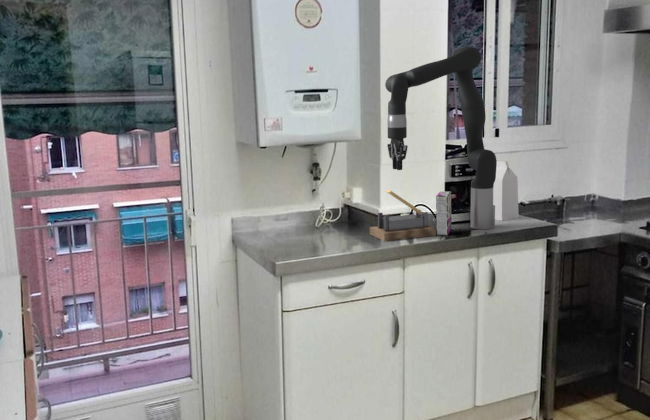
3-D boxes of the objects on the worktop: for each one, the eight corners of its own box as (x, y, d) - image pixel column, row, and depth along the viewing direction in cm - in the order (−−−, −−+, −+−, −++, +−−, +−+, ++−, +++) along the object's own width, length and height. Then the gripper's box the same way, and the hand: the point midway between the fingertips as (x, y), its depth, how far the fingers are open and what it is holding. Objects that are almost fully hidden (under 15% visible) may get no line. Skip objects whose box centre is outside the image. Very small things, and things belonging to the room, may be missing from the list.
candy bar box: (439, 229, 257) (439, 191, 254) (451, 230, 255) (451, 191, 252) (435, 235, 246) (435, 195, 243) (447, 235, 245) (448, 195, 242)
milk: (481, 217, 280) (481, 161, 275) (497, 214, 286) (498, 159, 282) (501, 221, 270) (503, 162, 266) (518, 217, 277) (520, 160, 272)
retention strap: (419, 215, 252) (421, 212, 252) (424, 217, 249) (426, 213, 249) (385, 192, 245) (387, 188, 245) (389, 193, 242) (391, 190, 242)
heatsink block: (419, 223, 255) (419, 208, 254) (428, 227, 248) (428, 211, 247) (377, 228, 249) (377, 212, 248) (386, 231, 241) (385, 215, 240)
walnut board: (419, 228, 259) (419, 221, 258) (435, 235, 246) (435, 227, 245) (369, 234, 251) (369, 227, 251) (384, 241, 238) (384, 233, 238)
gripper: (413, 126, 235) (414, 170, 238) (397, 125, 248) (397, 167, 251) (396, 127, 232) (396, 171, 236) (380, 126, 245) (381, 168, 249)
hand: (397, 169), depth 243 cm, fingers open, 3 cm apart
